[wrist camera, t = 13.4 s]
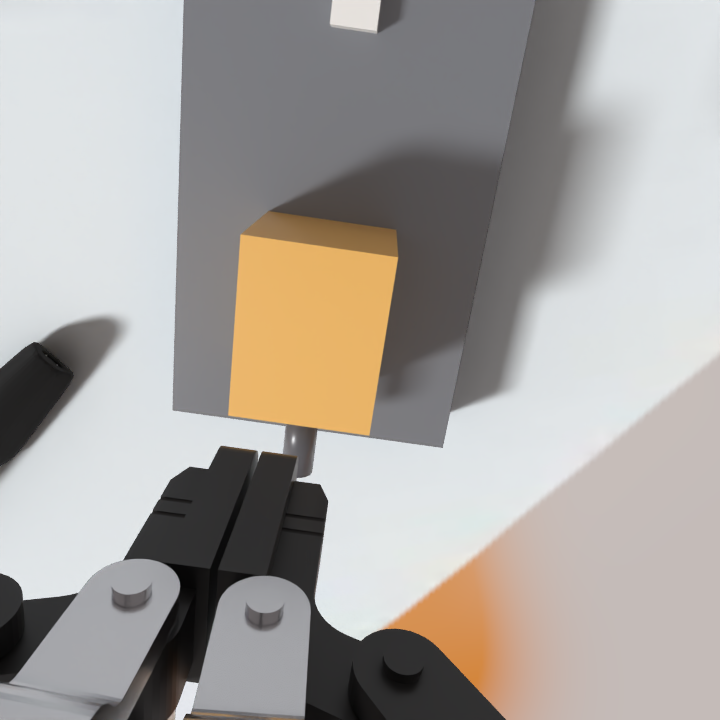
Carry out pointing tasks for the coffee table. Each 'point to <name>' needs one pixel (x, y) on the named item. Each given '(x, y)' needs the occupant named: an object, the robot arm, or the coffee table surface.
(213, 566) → the robot arm
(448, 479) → the coffee table surface
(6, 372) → the electric trimmer
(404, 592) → the coffee table surface
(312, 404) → the plug
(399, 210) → the socket board
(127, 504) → the coffee table surface
